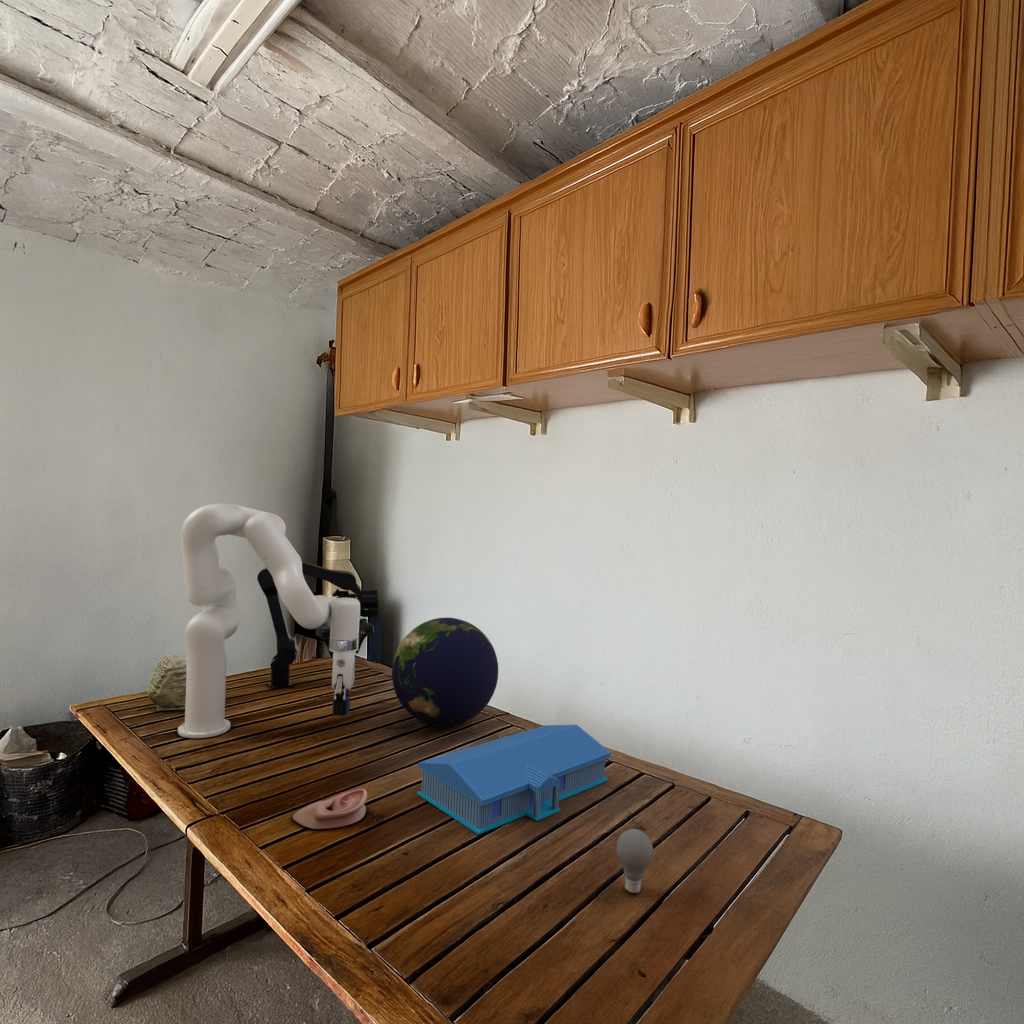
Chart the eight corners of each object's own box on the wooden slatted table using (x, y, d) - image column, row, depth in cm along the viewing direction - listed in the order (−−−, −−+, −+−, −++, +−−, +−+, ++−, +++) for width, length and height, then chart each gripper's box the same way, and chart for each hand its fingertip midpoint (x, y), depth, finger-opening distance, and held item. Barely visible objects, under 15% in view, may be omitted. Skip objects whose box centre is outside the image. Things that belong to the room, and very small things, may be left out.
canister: (347, 715, 168) (348, 700, 168) (330, 715, 168) (331, 700, 168) (350, 710, 173) (351, 695, 173) (334, 709, 172) (335, 695, 172)
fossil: (144, 707, 182) (145, 655, 182) (212, 696, 194) (213, 647, 194) (151, 716, 175) (153, 662, 175) (221, 703, 188) (223, 653, 188)
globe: (368, 731, 171) (372, 620, 171) (424, 700, 199) (427, 605, 198) (467, 752, 160) (472, 634, 160) (512, 716, 188) (516, 616, 187)
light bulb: (610, 879, 108) (613, 822, 108) (644, 879, 109) (647, 822, 109) (619, 902, 102) (622, 840, 102) (655, 901, 103) (658, 840, 103)
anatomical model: (284, 804, 122) (315, 778, 133) (284, 824, 122) (314, 797, 133) (348, 814, 119) (374, 787, 130) (348, 835, 119) (373, 806, 130)
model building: (489, 841, 119) (491, 789, 119) (416, 793, 137) (417, 747, 137) (619, 785, 145) (621, 742, 145) (543, 750, 163) (545, 712, 163)
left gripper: (354, 652, 162) (351, 723, 162) (361, 637, 179) (358, 701, 179) (324, 651, 161) (321, 722, 161) (334, 637, 178) (331, 701, 178)
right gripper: (330, 615, 201) (328, 664, 202) (382, 610, 214) (380, 656, 214) (315, 609, 210) (313, 656, 210) (366, 605, 222) (365, 650, 222)
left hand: (340, 711), depth 170 cm, fingers closed on canister, 4 cm apart
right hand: (344, 655), depth 214 cm, fingers open, 9 cm apart
